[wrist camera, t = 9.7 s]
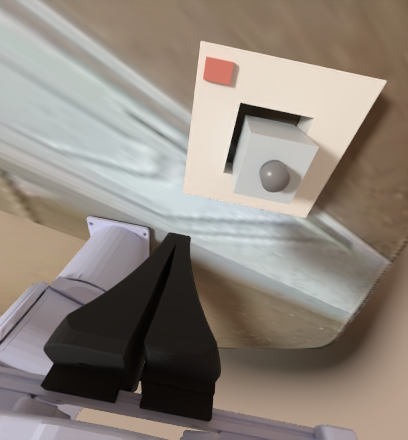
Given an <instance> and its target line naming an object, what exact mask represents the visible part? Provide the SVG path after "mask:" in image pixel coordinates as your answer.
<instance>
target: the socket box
mask: <svg viewBox="0 0 408 440" xmlns="http://www.w3.org/2000/svg"><path fill="white" fill-rule="evenodd" d="M386 82H387V81H385V80H381V79H376V78H371V77H367V76H362V75H357V74H353V73H348V72H343V71H339V70H334V69H329V68H325V67H320V66H316V65H311V64H306V63H302V62H297V61H292V60H288V59H283V58H278V57H274V56H269V55H264V54H260V53H255V52H250V51H246V50H241V49H236V48H232V47H227V46H223V45H218V44H213V43H209V42H204V41H201V44H200V52H199V61H198V69H197V77H196V86H195V94H194V103H193V111H192V119H191V128H190V136H189V144H188V153H187V161H186V169H185V178H184V186H183V193H185V194H190V195H195V196H200V197H205V198H210V199H215V200H220V201H225V202H230V203H234V204H239V205H244V206H249V207H254V208H259V209H264V210H269V211H274V212H279V213H284V214H289V215H293V216H298V217H303V218H306V216H307V214H308V213H309V211H310V209H311V208H312V206H313V204H314V203H315V201H316V199H317V198H318V196H319V194H320V193H321V191H322V189H323V188H324V186H325V184H326V182H327V181H328V179H329V177H330V176H331V174H332V172H333V171H334V169H335V167H336V166H337V164H338V162H339V161H340V159H341V157H342V156H343V154H344V152H345V151H346V149H347V147H348V146H349V144H350V142H351V140H352V139H353V137H354V135H355V134H356V132H357V130H358V129H359V127H360V125H361V124H362V122H363V120H364V119H365V117H366V115H367V114H368V112H369V110H370V109H371V107H372V105H373V104H374V102H375V100H376V98H377V97H378V95H379V93H380V92H381V90H382V88H383V87H384V85H385V83H386ZM240 103H245V104H249V105H254V106H259V107H264V108H268V109H273V110H278V111H282V112H287V113H292V114H297V115H301V118H300V120H299V123H298V125H297V128H298V129H299V130H300V131H301V132H302V133H304V134H305V135H306V136H307V137H308V138H309V139H310V140H312V141H313V142H314V143H315V144H316V145H317V146H319V148H318V150H317V152H316V154H315V156H314V158H313V160H312V162H311V164H310V166H309V168H308V170H307V172H306V174H305V176H304V178H303V180H302V182H301V184H300V185H299V187H298V189H297V191H296V193H295V195H294V197H293V199H292V201H291V203H290V205H289V204H284V203H279V202H274V201H269V200H264V199H260V198H255V197H250V196H245V195H240V194H235V193H233V163H230V162H226V159H227V155H228V151H229V147H230V143H231V139H232V135H233V131H234V126H235V122H236V118H237V114H238V110H239V106H240Z"/></svg>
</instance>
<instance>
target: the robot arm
mask: <svg viewBox="0 0 408 440" xmlns="http://www.w3.org/2000/svg"><path fill="white" fill-rule="evenodd" d="M87 223H88V227H89V231H90V236H91V237H90V239H89V240H88V241H87V242H86V243H85V244H84V246H83V247H82V248H81V249H80V250H79V252H78V253H77V254H76V255H75V256H74V257H73V259H72V260H71V261H70V262H69V263H68V265H67V266H66V267H65V268H64V269H63V271H62V272H61V273H60V274H59V275H58V276H57V278H56V279H55V280H54V281H53V282H52V283H51V284H50V285H49V286H48V287H47V285H48V284H49V283H47V282H45V281H41V282H40V283H34V284H32V285H31V286H30V287H29V288H28V289H27V290H26V291H25V292H24V293H23V294H22V295H21V296H20V297H19V298H18V299H17V301H16V302H15V303H14V304H13V305H12V306H11V307H10V308H9V309H8V310H7V311H6V312H5V313H4V314H3V316H2V317H1V318H0V440H167V439H163V438H159V437H154V436H150V435H146V434H141V433H137V432H133V431H128V430H123V429H119V428H114V427H109V426H103V425H98V424H93V423H87V422H81V421H75V419H76V417H77V415H78V414H79V412H80V411H81V410H82V409H83V408H84V407H85V408H90V409H95V410H100V411H105V412H110V413H116V414H121V415H126V416H131V417H136V418H142V419H146V420H152V421H157V422H162V423H167V424H173V425H177V426H182V427H188V428H193V429H198V430H204V431H208V432H204V431H203V432H202V431H190V430H185V431H184V432H183V437H181V438H180V440H358V439H357V437H356V433H355V432H354V431H353V430H351V429H346V428H341V427H336V426H331V425H318V426H315V427H314V428H312V427H306V426H302V425H297V424H292V423H286V422H281V421H276V420H271V419H266V418H261V417H256V416H251V415H245V414H240V413H235V412H230V411H224V410H219V409H215V408H213V395H214V393H215V382H216V381H217V379H218V378H219V377H220V374H221V364H220V357H219V352H218V347H217V342H216V340H215V338H214V336H213V334H212V332H211V329H210V327H209V325H208V322H207V320H206V317H205V315H204V312H203V309H202V306H201V303H200V301H199V297H198V294H197V290H196V287H195V283H194V278H193V273H192V267H191V259H190V240H191V238H190V236H185V235H180V234H176V233H171V232H170V233H168V234H167V236H166V237H165V239H164V240H163V241H162V242H161V244H160V245H159V246H158V247H157V248H156V249H155V250H154V252H153V253H152V254H151V255H150V256H149V243H150V230H149V228H147V227H143V226H138V225H133V224H128V223H123V222H118V221H113V220H108V219H103V218H98V217H93V216H89V217H88V218H87ZM145 233H146V234H145ZM144 361H145V362H144ZM143 365H144V366H143ZM142 368H143V369H142ZM139 381H141V388H142V392H141V394H138V393H134V392H135V391H136V390H137V388H138V384H139ZM212 432H213V433H212ZM216 433H218V434H216Z"/></svg>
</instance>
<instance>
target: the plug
mask: <svg viewBox="0 0 408 440" xmlns="http://www.w3.org/2000/svg"><path fill="white" fill-rule="evenodd" d="M318 148H319V146H317V145H316V144H315V143H314V142H313V141H312V140H310V139H309V138H308V137H307V136H306V135H305V134H304V133H302V132H301V131H300V130H299V129H298V128H297V127H296V126H294V125H293V124H288V123H283V122H278V121H274V120H269V119H264V118H259V117H255V116H250V115H245V117H244V121H243V125H242V129H241V132H240V136H239V140H238V144H237V147H236V151H235V155H234V159H233V193H235V194H240V195H245V196H250V197H255V198H260V199H264V200H269V201H274V202H279V203H284V204H289V205H290V203H291V201H292V199H293V197H294V195H295V193H296V191H297V189H298V187H299V185H300V184H301V182H302V180H303V178H304V176H305V174H306V172H307V170H308V168H309V166H310V164H311V162H312V160H313V158H314V156H315V154H316V152H317V150H318Z"/></svg>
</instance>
